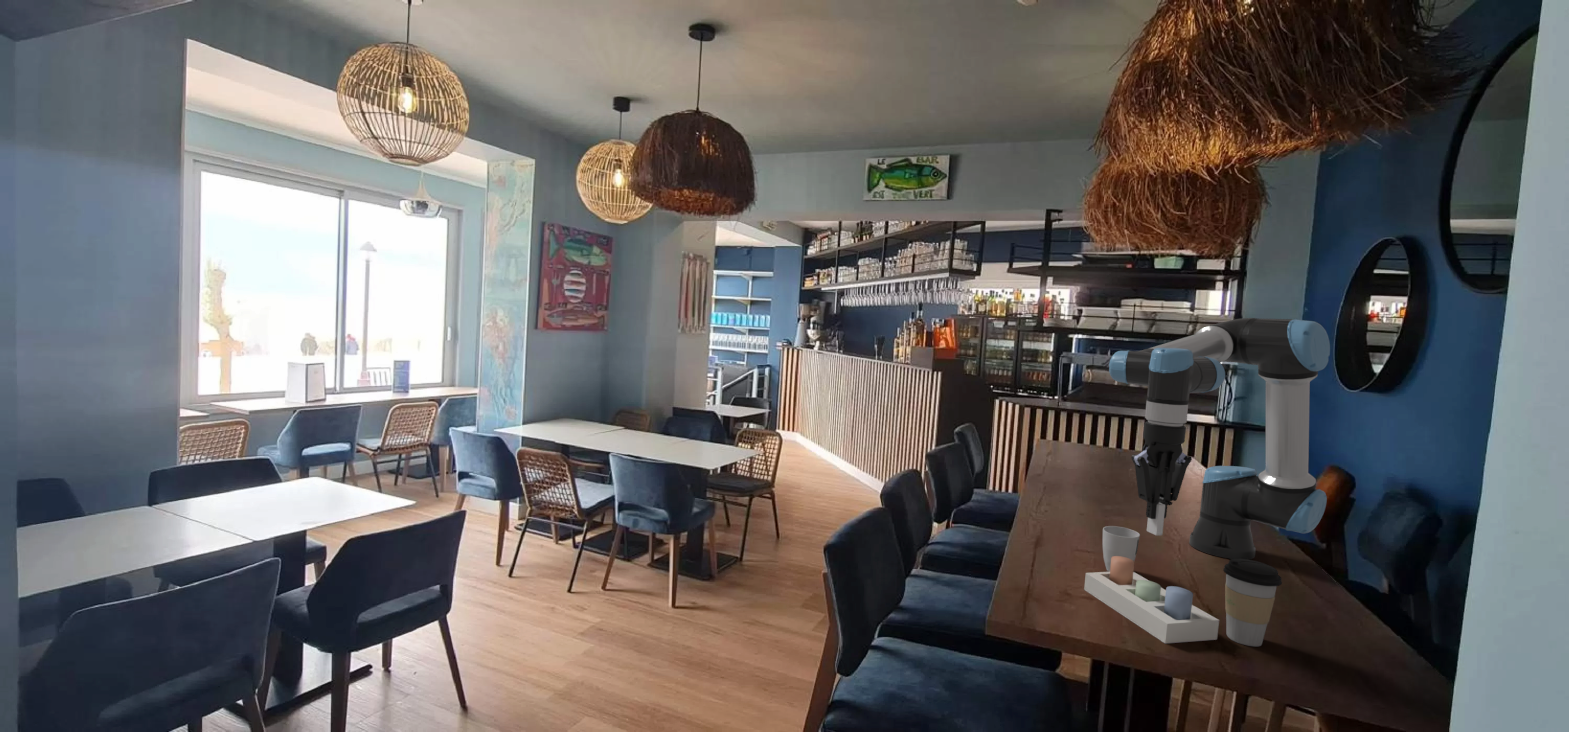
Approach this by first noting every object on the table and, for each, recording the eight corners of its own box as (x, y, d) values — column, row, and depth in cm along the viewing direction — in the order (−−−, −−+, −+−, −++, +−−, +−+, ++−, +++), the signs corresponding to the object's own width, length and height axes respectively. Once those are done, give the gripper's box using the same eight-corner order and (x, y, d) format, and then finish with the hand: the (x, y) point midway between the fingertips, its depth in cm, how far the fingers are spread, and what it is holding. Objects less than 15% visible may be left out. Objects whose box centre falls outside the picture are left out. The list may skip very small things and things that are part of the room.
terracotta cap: (1122, 576, 151) (1124, 555, 150) (1137, 585, 146) (1139, 563, 146) (1104, 577, 150) (1106, 556, 149) (1119, 586, 145) (1121, 564, 145)
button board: (1129, 587, 154) (1131, 570, 153) (1217, 639, 130) (1219, 619, 130) (1084, 589, 151) (1085, 572, 151) (1165, 643, 128) (1167, 623, 127)
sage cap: (1147, 601, 143) (1149, 579, 143) (1163, 611, 139) (1166, 588, 138) (1129, 602, 142) (1131, 580, 142) (1144, 612, 138) (1147, 589, 137)
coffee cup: (1205, 627, 135) (1213, 556, 134) (1248, 627, 136) (1256, 557, 135) (1240, 651, 126) (1249, 575, 124) (1286, 651, 127) (1296, 576, 125)
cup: (1140, 579, 158) (1144, 539, 158) (1104, 575, 160) (1107, 535, 159) (1130, 566, 166) (1133, 527, 165) (1095, 562, 168) (1099, 524, 167)
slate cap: (1177, 609, 135) (1180, 585, 135) (1195, 619, 131) (1198, 595, 130) (1158, 610, 134) (1160, 586, 134) (1176, 621, 130) (1178, 596, 129)
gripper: (1177, 419, 142) (1167, 525, 144) (1124, 419, 139) (1115, 527, 141) (1206, 426, 134) (1195, 538, 137) (1151, 426, 132) (1140, 540, 134)
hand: (1154, 532), depth 139 cm, fingers closed
